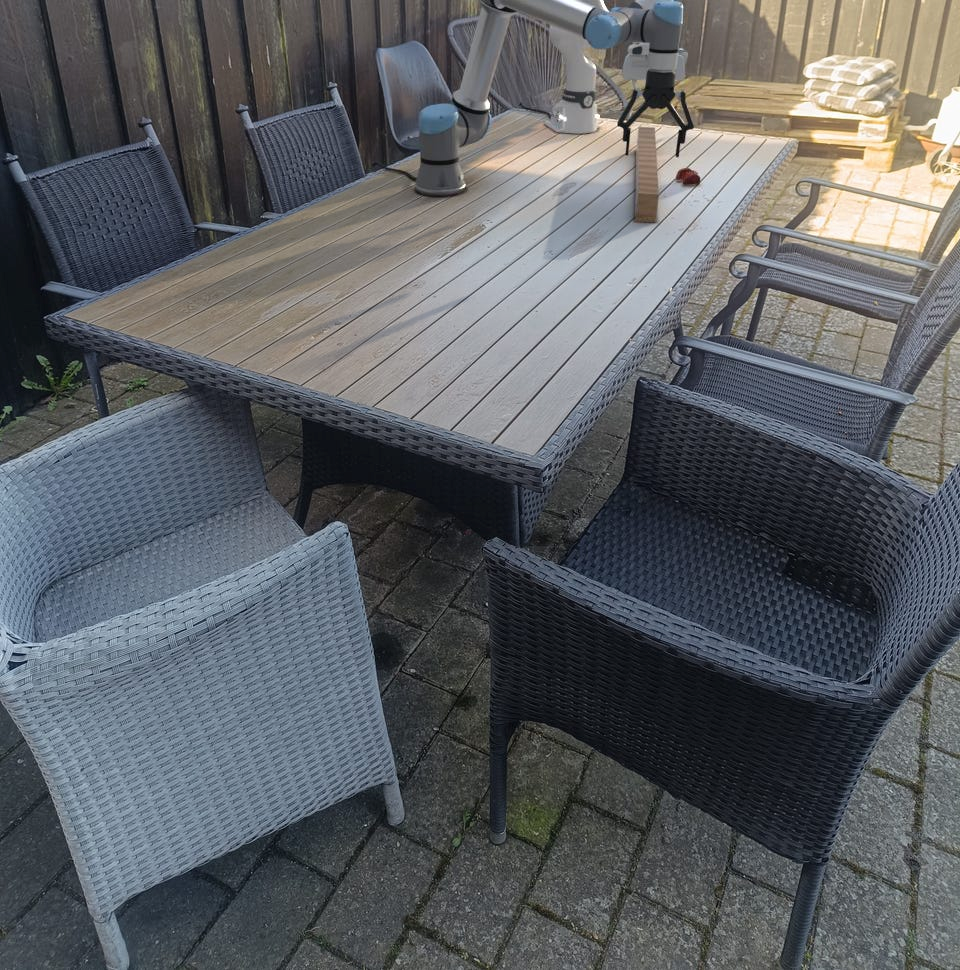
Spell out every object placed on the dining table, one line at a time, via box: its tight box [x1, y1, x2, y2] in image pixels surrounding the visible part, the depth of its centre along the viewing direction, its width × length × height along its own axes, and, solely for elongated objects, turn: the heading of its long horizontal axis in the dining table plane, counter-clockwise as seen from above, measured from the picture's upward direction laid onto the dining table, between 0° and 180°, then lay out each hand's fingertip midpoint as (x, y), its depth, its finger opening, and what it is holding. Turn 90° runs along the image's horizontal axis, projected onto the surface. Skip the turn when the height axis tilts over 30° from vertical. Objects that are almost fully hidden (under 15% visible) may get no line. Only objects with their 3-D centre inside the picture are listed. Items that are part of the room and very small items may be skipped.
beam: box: [634, 126, 660, 223], centre depth 263 cm, size 78×6×8 cm, turn 171°
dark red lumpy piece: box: [675, 167, 701, 186], centre depth 263 cm, size 6×4×8 cm
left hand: (651, 155), depth 231 cm, fingers open, 13 cm apart
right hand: (650, 94), depth 279 cm, fingers open, 8 cm apart
